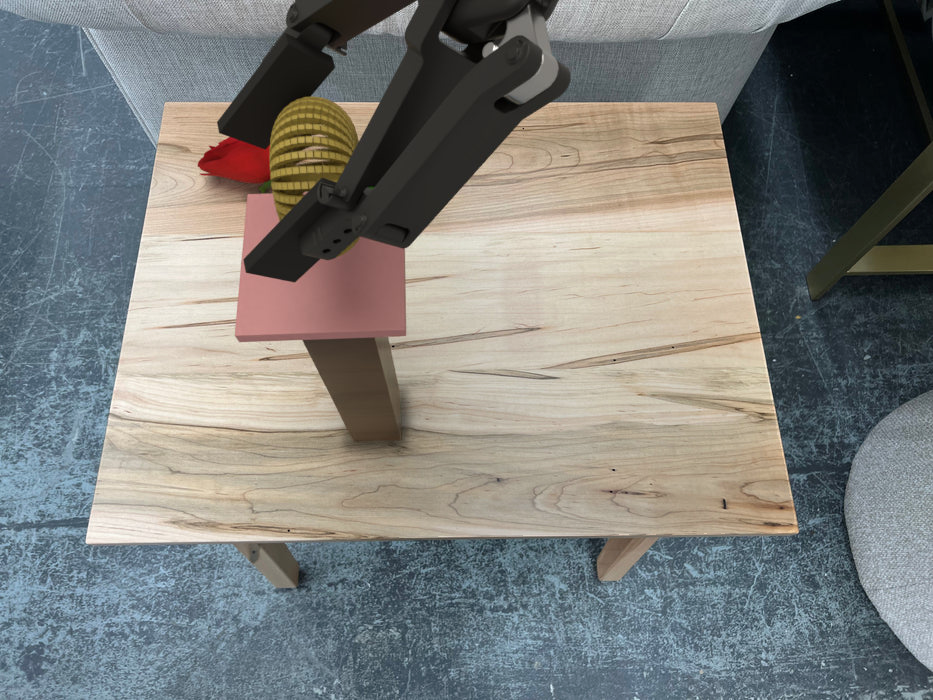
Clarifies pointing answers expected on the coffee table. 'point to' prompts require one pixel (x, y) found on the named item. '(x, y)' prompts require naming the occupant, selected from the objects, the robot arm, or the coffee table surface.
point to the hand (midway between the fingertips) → (255, 200)
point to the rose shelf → (321, 290)
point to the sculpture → (295, 136)
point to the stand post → (361, 384)
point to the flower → (238, 162)
